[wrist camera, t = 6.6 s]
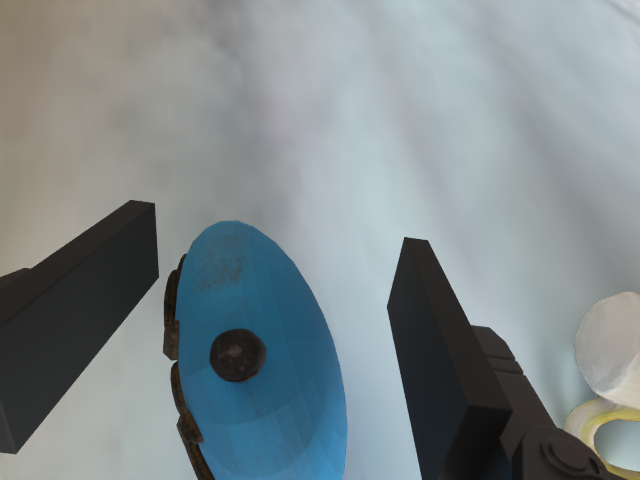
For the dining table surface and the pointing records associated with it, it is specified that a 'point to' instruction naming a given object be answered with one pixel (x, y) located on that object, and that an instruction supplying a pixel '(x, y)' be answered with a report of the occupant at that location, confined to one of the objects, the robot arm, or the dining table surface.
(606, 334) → the mug
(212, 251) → the ornament
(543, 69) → the dining table surface
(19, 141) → the dining table surface
